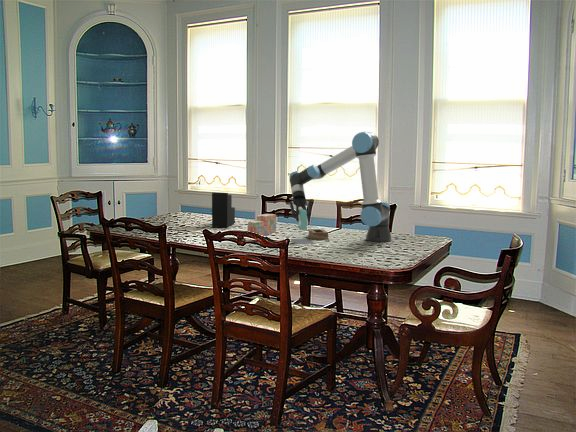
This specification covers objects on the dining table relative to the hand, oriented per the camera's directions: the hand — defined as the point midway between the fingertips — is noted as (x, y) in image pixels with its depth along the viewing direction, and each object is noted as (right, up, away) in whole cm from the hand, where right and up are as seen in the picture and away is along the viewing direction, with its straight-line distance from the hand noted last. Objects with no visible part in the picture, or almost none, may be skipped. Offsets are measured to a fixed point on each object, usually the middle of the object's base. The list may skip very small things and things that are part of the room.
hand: (303, 225), depth 337 cm
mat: (-1, -10, +5) cm, 11 cm away
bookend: (-53, -2, +62) cm, 82 cm away
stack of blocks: (-25, -7, +27) cm, 38 cm away
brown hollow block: (+9, -8, +18) cm, 22 cm away
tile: (-1, -2, +4) cm, 5 cm away
